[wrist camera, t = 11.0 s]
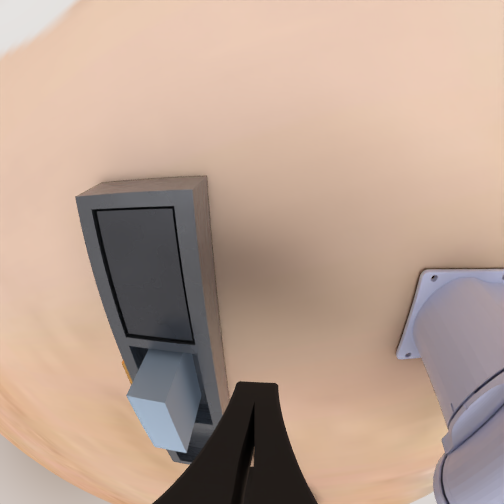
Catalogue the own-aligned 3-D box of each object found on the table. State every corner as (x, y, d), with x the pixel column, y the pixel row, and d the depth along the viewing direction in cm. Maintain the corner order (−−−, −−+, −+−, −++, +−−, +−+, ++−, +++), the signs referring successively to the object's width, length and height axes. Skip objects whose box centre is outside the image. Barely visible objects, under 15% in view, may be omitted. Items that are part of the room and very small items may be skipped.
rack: (206, 175, 17) (192, 189, 14) (236, 448, 30) (233, 470, 27) (94, 183, 17) (67, 197, 15) (174, 440, 31) (168, 460, 28)
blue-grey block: (188, 338, 21) (165, 403, 16) (201, 395, 24) (186, 452, 19) (155, 334, 21) (126, 395, 16) (173, 391, 24) (154, 446, 19)
